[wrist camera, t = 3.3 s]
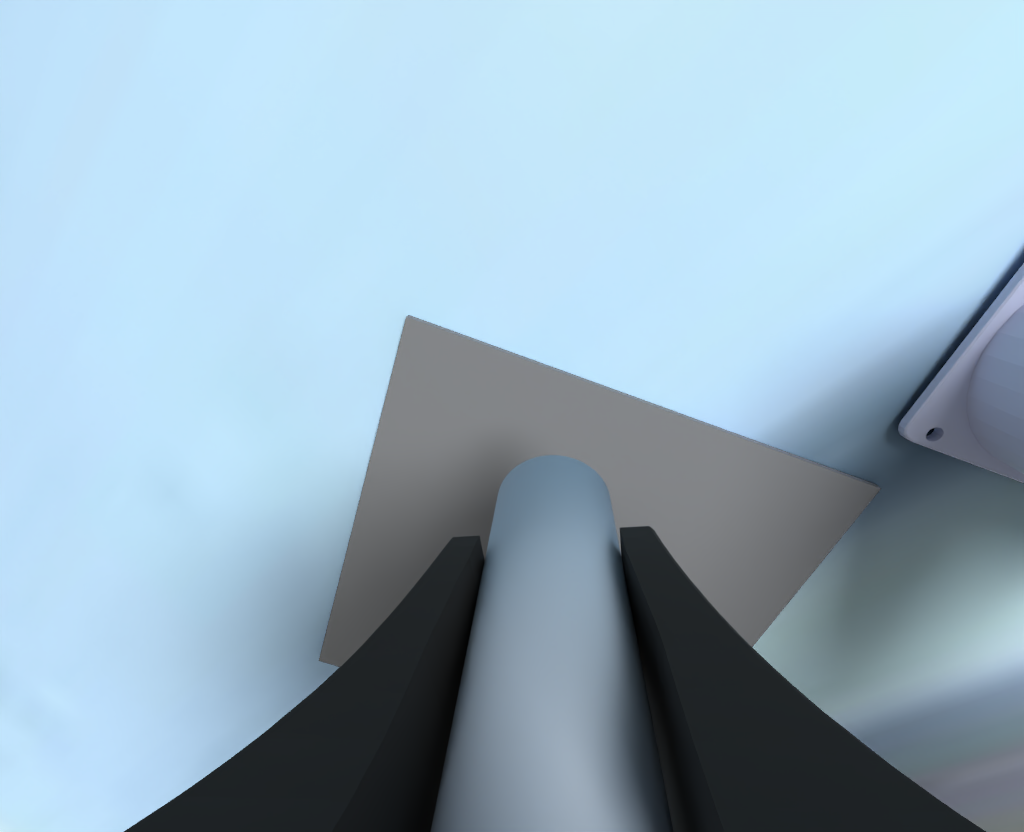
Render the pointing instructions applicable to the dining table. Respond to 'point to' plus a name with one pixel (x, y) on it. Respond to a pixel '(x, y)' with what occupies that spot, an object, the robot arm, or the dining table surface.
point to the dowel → (552, 673)
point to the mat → (601, 445)
